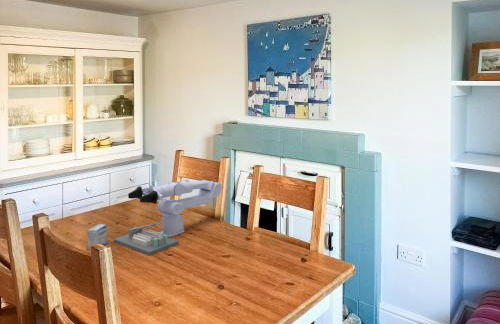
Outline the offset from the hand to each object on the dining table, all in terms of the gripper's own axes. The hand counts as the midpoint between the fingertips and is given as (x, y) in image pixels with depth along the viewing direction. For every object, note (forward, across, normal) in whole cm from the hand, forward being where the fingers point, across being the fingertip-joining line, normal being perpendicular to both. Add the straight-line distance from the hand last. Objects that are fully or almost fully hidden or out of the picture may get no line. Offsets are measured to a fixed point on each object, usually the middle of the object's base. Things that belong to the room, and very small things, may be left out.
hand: (134, 197), depth 180 cm
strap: (-5, +2, +14) cm, 15 cm away
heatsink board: (-5, +2, +21) cm, 22 cm away
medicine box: (+10, -11, +22) cm, 27 cm away
